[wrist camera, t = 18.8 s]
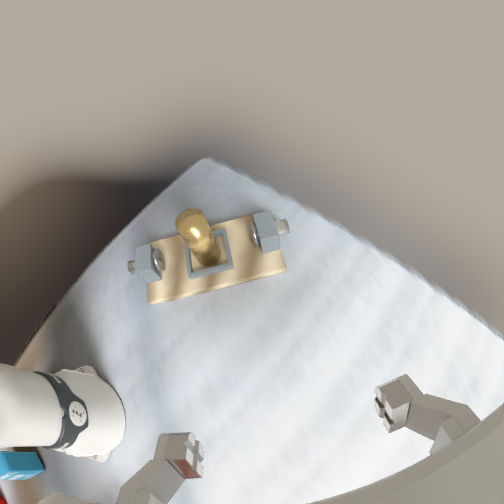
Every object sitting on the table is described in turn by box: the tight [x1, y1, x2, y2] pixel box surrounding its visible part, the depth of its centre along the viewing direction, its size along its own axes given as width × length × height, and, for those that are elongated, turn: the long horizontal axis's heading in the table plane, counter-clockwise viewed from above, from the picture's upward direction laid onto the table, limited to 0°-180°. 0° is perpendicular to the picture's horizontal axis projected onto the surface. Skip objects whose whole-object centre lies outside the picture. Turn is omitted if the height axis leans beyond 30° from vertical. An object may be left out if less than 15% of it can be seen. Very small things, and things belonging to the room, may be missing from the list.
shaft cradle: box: [128, 210, 289, 305], centre depth 46 cm, size 28×12×6 cm, turn 103°
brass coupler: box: [176, 209, 221, 266], centre depth 43 cm, size 4×4×10 cm
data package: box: [0, 451, 45, 480], centre depth 23 cm, size 12×4×12 cm, turn 129°
